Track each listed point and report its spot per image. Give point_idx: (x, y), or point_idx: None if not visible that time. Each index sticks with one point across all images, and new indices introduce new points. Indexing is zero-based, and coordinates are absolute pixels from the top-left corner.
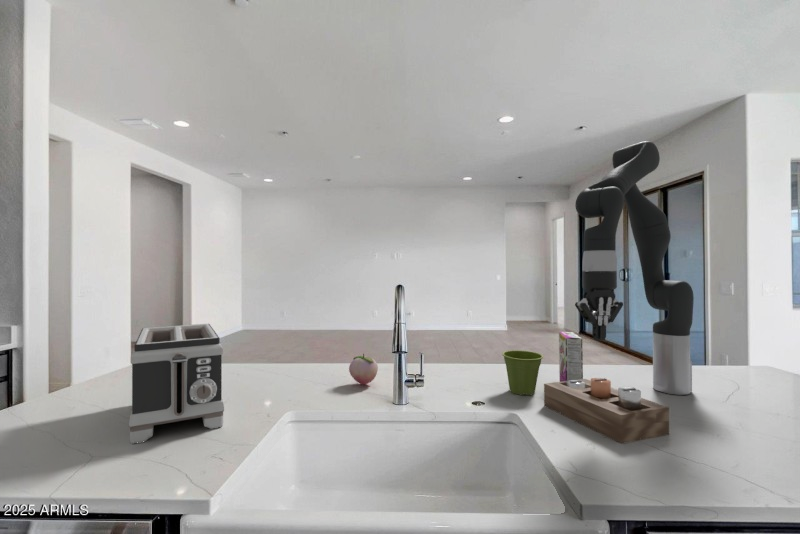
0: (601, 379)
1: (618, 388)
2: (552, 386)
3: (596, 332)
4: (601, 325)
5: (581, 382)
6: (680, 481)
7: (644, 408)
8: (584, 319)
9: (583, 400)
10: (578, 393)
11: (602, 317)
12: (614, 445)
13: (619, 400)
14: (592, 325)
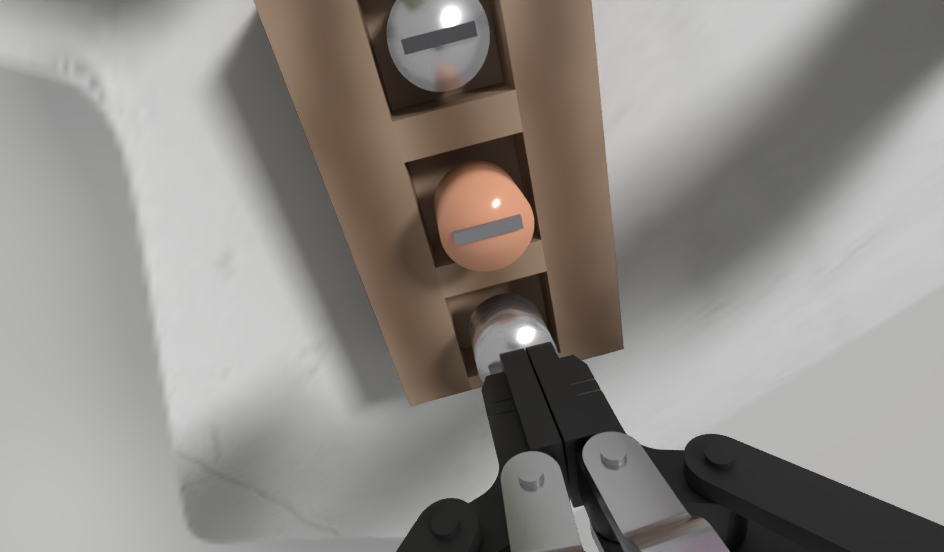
0: (490, 236)
1: (485, 346)
2: (279, 48)
3: (496, 453)
4: (575, 491)
5: (471, 43)
6: (421, 485)
7: (553, 325)
8: (405, 542)
9: (356, 265)
10: (375, 186)
11: (702, 483)
12: (381, 357)
13: (471, 335)
14: (499, 468)
